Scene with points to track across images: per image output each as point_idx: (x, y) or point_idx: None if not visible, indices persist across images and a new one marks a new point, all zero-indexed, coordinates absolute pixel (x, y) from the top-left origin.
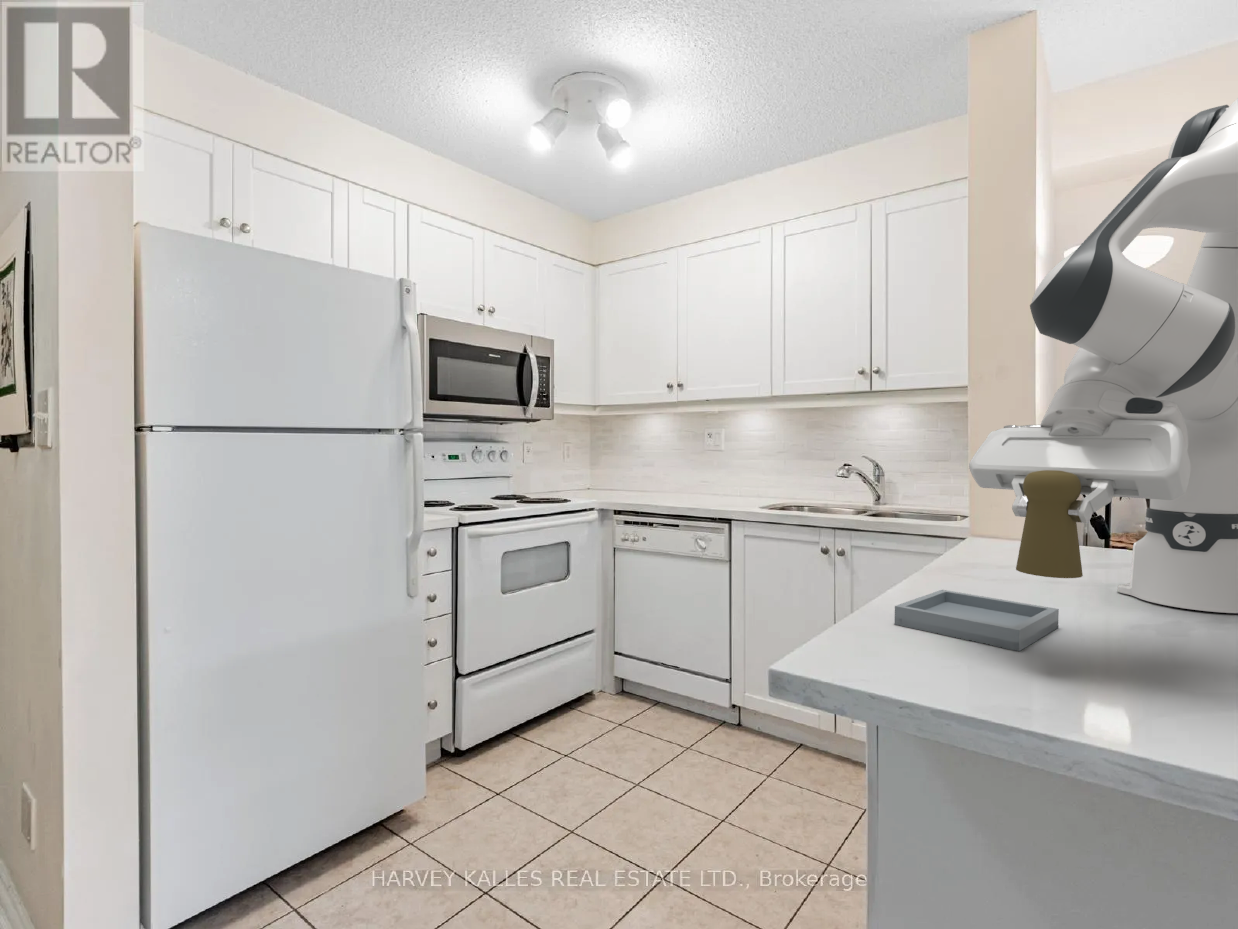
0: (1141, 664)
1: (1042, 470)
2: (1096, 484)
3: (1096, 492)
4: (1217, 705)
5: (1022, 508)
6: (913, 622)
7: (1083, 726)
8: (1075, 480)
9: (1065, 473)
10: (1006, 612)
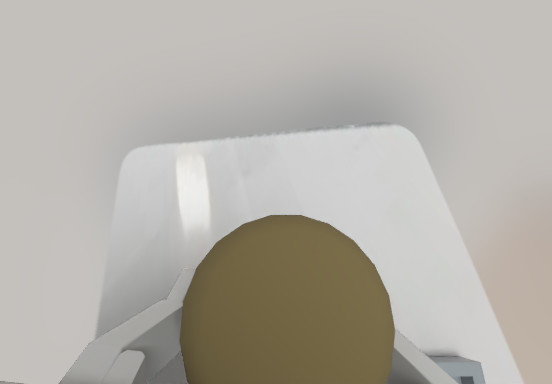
0: None
1: (336, 306)
2: (117, 369)
3: (131, 327)
4: (107, 312)
5: None
6: (439, 358)
7: (205, 168)
8: (191, 283)
9: (226, 273)
10: None
